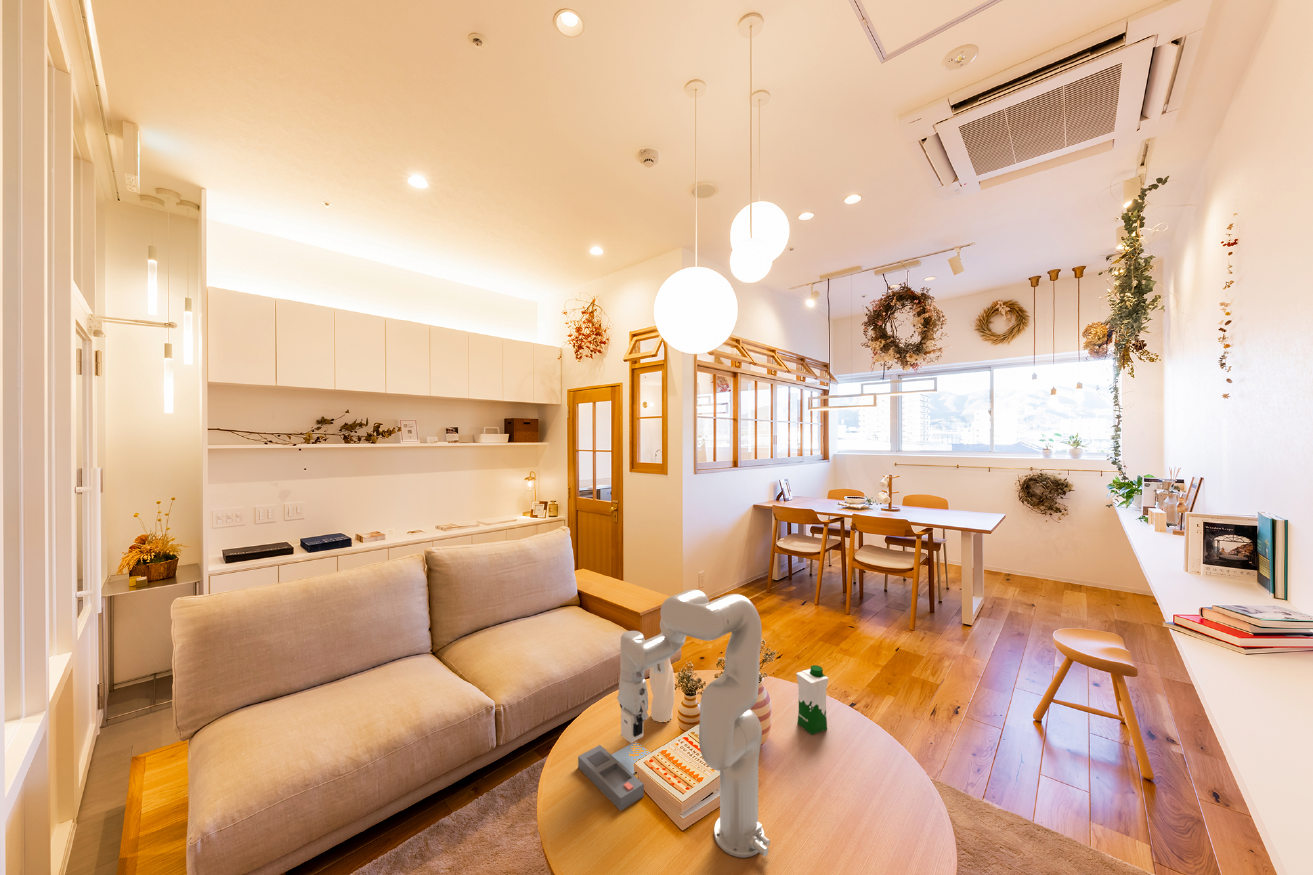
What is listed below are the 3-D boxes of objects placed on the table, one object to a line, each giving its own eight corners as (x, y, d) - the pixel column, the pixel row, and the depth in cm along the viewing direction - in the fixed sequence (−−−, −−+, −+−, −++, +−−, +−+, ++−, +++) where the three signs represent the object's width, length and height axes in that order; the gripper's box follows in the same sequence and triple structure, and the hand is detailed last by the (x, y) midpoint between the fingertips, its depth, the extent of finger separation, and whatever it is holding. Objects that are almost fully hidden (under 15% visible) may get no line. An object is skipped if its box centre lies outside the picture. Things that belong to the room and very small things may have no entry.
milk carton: (831, 730, 161) (831, 672, 161) (811, 737, 157) (810, 678, 157) (812, 716, 169) (812, 661, 169) (793, 722, 165) (793, 666, 165)
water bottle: (674, 726, 163) (674, 646, 163) (649, 726, 163) (648, 646, 163) (674, 709, 173) (674, 634, 173) (650, 709, 174) (649, 634, 173)
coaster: (657, 760, 146) (657, 758, 146) (629, 776, 139) (629, 775, 139) (635, 742, 155) (635, 741, 155) (608, 757, 148) (608, 756, 148)
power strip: (643, 796, 132) (643, 782, 132) (620, 811, 127) (620, 796, 127) (600, 755, 149) (599, 743, 149) (578, 767, 143) (578, 754, 143)
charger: (643, 736, 147) (643, 711, 147) (630, 743, 144) (630, 717, 144) (633, 728, 151) (633, 703, 151) (620, 735, 147) (620, 710, 147)
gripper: (659, 679, 143) (659, 738, 143) (625, 658, 156) (625, 713, 156) (640, 688, 138) (639, 749, 138) (607, 666, 151) (606, 722, 151)
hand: (632, 729), depth 147 cm, fingers closed on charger, 5 cm apart
